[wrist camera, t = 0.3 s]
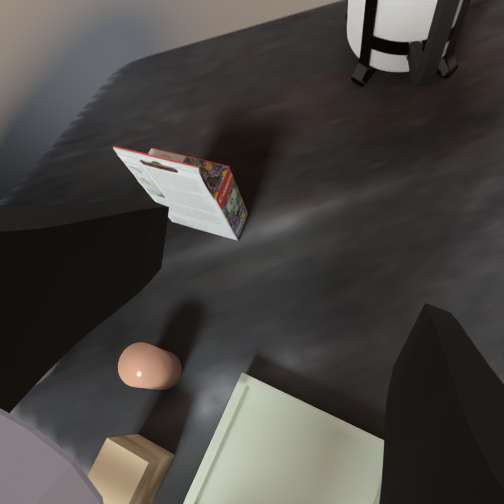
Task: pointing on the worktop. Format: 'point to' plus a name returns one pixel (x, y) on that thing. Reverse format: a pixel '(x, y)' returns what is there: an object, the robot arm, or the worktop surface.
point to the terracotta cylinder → (149, 367)
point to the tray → (286, 454)
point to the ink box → (190, 190)
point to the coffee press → (405, 37)
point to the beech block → (129, 470)
